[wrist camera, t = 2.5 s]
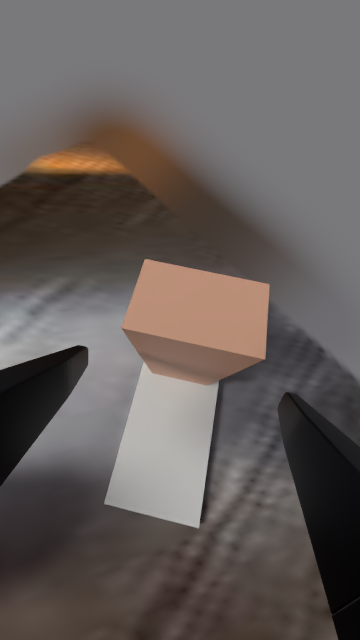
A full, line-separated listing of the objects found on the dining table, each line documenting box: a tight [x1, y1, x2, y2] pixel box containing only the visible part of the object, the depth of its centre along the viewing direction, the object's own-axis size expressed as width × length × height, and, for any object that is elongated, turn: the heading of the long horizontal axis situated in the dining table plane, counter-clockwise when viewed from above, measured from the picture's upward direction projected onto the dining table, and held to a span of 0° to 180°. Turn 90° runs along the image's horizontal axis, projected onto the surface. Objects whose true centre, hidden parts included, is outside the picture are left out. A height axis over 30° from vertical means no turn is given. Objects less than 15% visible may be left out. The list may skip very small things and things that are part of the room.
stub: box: [122, 259, 269, 385], centre depth 13 cm, size 3×5×12 cm, turn 78°
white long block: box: [104, 362, 219, 528], centre depth 16 cm, size 18×7×6 cm, turn 168°
